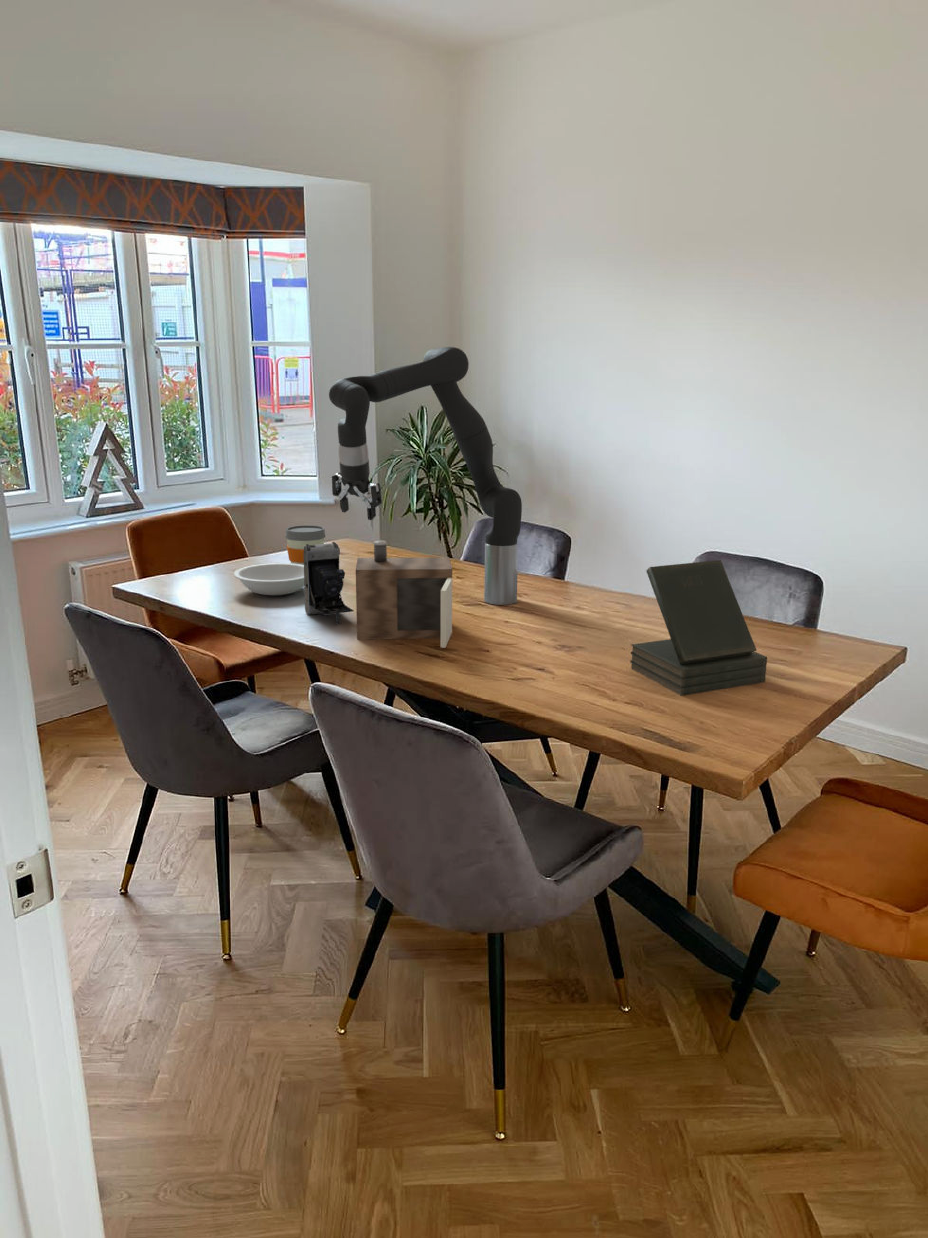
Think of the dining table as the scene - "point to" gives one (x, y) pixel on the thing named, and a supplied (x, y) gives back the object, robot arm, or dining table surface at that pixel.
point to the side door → (446, 612)
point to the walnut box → (400, 597)
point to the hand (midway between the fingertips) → (358, 514)
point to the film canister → (380, 551)
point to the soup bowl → (272, 578)
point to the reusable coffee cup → (302, 540)
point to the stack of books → (698, 633)
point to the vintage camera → (323, 580)
